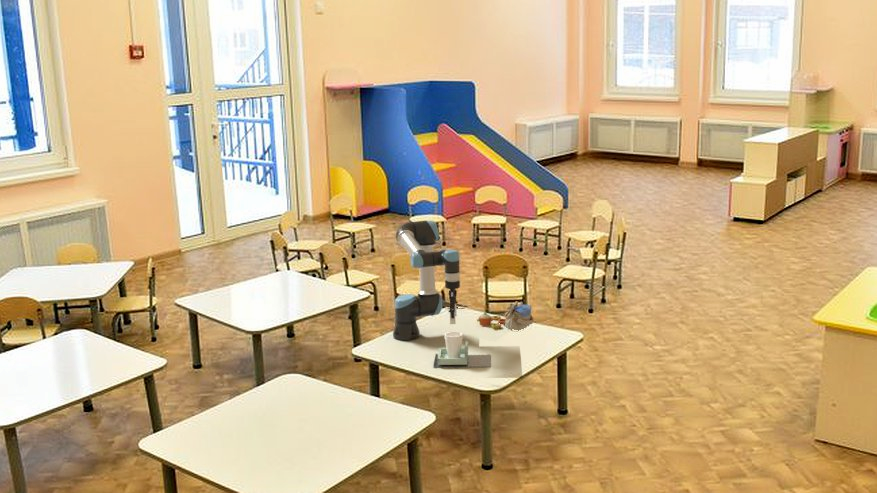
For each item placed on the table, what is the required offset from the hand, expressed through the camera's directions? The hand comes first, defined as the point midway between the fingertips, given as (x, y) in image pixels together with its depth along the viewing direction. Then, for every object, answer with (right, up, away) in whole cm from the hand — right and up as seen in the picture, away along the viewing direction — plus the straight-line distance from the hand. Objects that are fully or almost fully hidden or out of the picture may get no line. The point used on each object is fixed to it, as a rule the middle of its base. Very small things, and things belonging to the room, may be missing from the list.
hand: (453, 320), depth 447 cm
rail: (+5, -22, +4) cm, 23 cm away
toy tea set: (+27, -9, +65) cm, 70 cm away
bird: (+2, -4, +91) cm, 91 cm away
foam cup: (+1, -20, +4) cm, 21 cm away
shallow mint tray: (0, -22, +5) cm, 23 cm away
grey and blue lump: (+41, -9, +61) cm, 74 cm away
